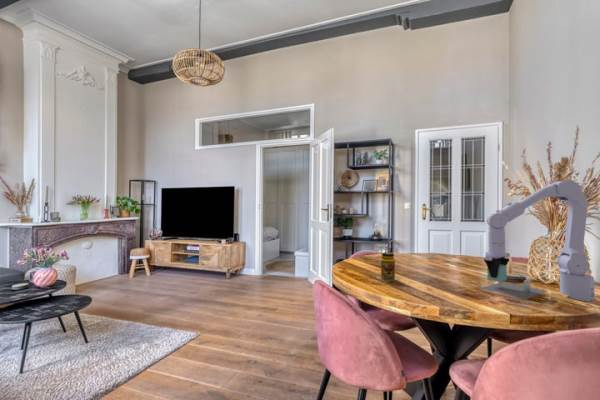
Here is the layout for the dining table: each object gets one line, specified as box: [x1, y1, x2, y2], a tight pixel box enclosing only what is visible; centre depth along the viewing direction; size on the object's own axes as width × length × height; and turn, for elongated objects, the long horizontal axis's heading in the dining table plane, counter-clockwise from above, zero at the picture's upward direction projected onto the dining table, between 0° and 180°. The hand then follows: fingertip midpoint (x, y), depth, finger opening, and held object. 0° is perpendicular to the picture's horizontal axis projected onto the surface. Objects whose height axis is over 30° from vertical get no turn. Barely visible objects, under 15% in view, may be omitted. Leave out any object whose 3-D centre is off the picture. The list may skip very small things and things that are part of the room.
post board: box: [480, 279, 546, 300], centre depth 121 cm, size 16×18×5 cm
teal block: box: [486, 264, 508, 283], centre depth 124 cm, size 5×5×6 cm
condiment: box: [374, 252, 400, 282], centre depth 142 cm, size 7×8×12 cm
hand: (497, 276), depth 124 cm, fingers closed on teal block, 5 cm apart
